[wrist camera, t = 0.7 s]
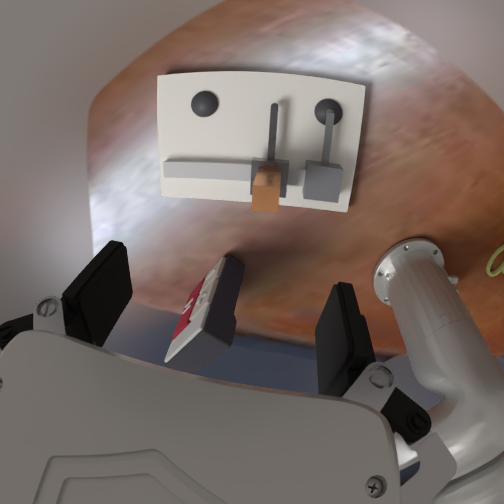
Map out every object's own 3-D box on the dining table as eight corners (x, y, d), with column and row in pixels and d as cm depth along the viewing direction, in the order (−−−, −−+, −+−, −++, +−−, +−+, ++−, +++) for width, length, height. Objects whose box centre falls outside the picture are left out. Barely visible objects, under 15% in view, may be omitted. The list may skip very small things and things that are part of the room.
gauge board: (361, 86, 26) (371, 85, 23) (344, 207, 34) (350, 220, 31) (162, 76, 28) (148, 74, 24) (165, 192, 36) (153, 203, 33)
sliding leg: (293, 104, 27) (297, 105, 20) (285, 191, 32) (285, 221, 25) (256, 101, 27) (246, 102, 20) (252, 188, 32) (242, 217, 25)
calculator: (225, 250, 40) (197, 326, 27) (248, 266, 41) (232, 346, 28) (188, 292, 45) (158, 364, 32) (209, 306, 46) (186, 379, 33)
